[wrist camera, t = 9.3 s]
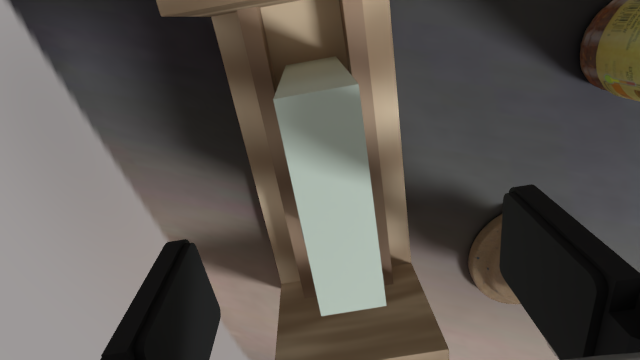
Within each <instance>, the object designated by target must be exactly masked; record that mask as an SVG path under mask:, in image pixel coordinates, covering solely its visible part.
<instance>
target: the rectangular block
mask: <svg viewBox="0 0 640 360" xmlns="http://www.w3.org/2000/svg"><path fill="white" fill-rule="evenodd" d="M273 101H274V105H275V110H276V114H277V119H278V123H279V128H280V132H281V137H282V141H283V146H284V150H285V155H286V159H287V164H288V168H289V173H290V177H291V182H292V186H293V191H294V195H295V200H296V205H297V209H298V214H299V218H300V223H301V230H302V235H303V239H304V241H305V245H306V250H307V254H308V259H309V263H310V268H311V272H312V277H313V281H314V286H315V290H316V295H317V299H318V304H319V308H320V313H321V316H327V315H333V314H339V313H345V312H351V311H358V310H364V309H370V308H376V307H383V306H387V305H386V297H385V289H384V281H383V273H382V265H381V258H380V250H379V242H378V234H377V226H376V218H375V210H374V202H373V194H372V186H371V178H370V170H369V163H368V155H367V147H366V139H365V131H364V123H363V115H362V107H361V99H360V91H359V84H358V83H357V81H356V80H355V79H354V78H353V77H352V75H351V74H350V73H349V72H348V70H347V69H346V68H345V67H344V66H343V64H342V63H341V62H340V61H339V59H338V58H337V57H336V56H334V57H329V58H323V59H318V60H312V61H307V62H301V63H296V64H290V65H286V66H285V69H284V72H283V74H282V77H281V80H280V83H279V85H278V88H277V91H276V93H275V96H274V99H273Z"/></svg>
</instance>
